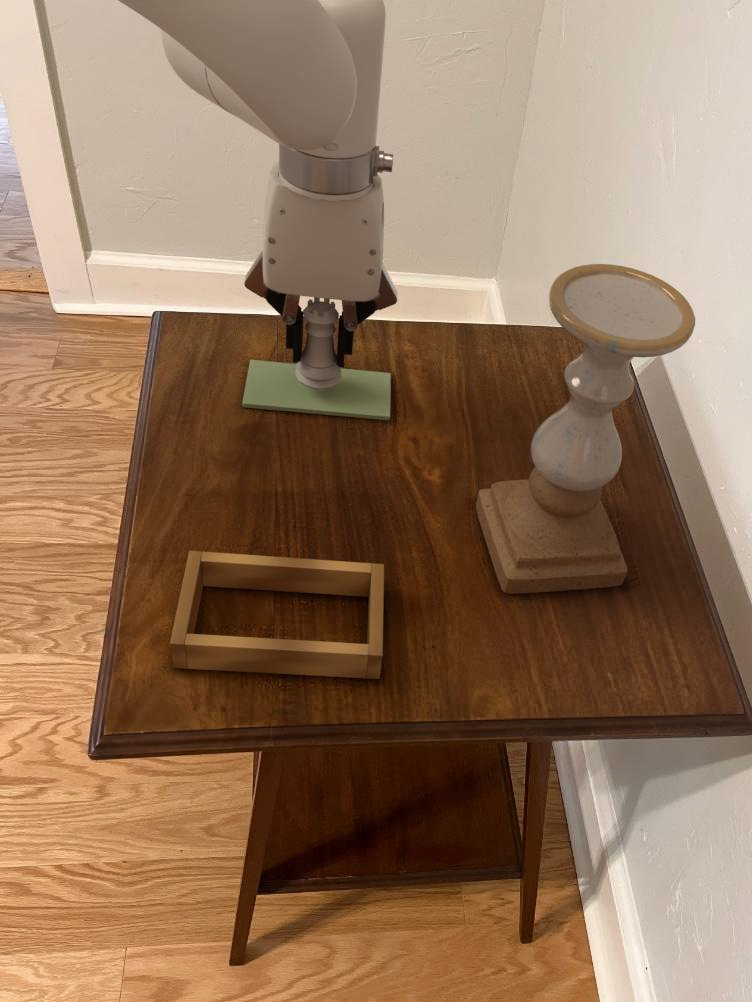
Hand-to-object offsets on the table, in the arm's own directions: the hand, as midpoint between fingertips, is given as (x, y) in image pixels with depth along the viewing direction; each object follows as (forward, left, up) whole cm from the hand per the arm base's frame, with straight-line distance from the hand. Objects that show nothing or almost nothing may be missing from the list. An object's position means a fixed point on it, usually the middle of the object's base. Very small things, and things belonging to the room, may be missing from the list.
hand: (319, 354), depth 86 cm
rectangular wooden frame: (-1, -29, -4) cm, 30 cm away
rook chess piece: (0, 0, -3) cm, 3 cm away
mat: (0, 0, -4) cm, 4 cm away
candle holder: (+21, -18, -5) cm, 28 cm away
